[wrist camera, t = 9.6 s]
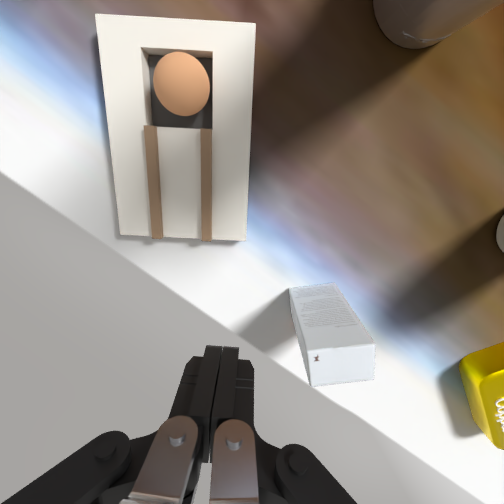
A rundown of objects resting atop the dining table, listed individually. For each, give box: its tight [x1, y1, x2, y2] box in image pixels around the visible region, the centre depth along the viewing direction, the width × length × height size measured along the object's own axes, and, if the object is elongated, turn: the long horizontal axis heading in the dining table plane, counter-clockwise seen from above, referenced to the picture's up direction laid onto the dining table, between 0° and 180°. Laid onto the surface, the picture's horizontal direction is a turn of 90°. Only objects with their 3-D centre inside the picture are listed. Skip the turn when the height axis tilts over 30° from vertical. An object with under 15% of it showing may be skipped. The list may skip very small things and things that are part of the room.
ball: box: [153, 52, 210, 116], centre depth 25 cm, size 5×5×5 cm
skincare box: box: [289, 283, 375, 387], centre depth 30 cm, size 6×4×12 cm
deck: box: [95, 14, 256, 241], centre depth 28 cm, size 20×14×3 cm
